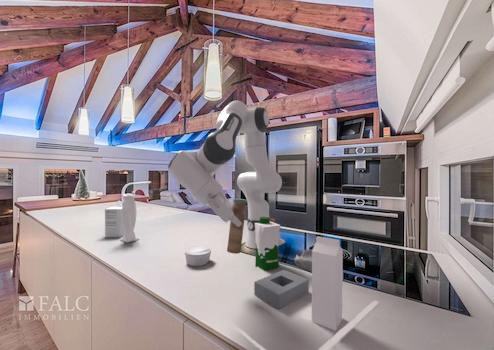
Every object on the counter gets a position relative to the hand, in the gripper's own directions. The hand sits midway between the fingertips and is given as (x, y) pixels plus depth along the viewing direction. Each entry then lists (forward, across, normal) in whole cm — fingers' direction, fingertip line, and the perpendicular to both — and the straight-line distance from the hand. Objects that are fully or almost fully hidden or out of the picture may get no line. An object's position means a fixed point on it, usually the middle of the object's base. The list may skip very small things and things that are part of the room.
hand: (239, 223), depth 76 cm
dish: (+38, +17, -7) cm, 42 cm away
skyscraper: (-25, +60, +56) cm, 86 cm away
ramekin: (+4, +26, +27) cm, 38 cm away
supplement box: (-34, +73, +65) cm, 104 cm away
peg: (+5, 0, +8) cm, 9 cm away
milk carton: (+24, +16, +7) cm, 30 cm away
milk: (+31, -19, +1) cm, 36 cm away
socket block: (+25, -5, +6) cm, 26 cm away
